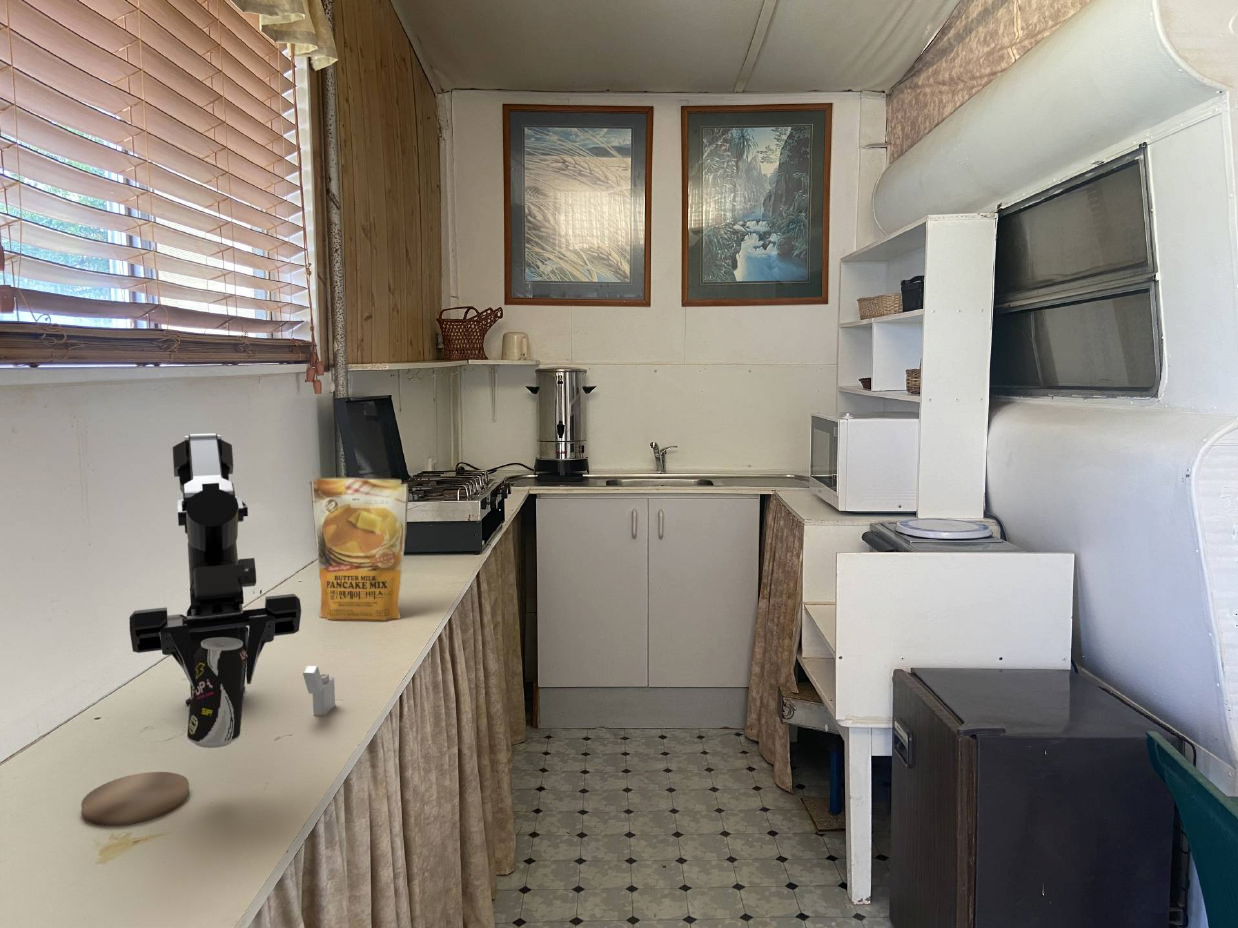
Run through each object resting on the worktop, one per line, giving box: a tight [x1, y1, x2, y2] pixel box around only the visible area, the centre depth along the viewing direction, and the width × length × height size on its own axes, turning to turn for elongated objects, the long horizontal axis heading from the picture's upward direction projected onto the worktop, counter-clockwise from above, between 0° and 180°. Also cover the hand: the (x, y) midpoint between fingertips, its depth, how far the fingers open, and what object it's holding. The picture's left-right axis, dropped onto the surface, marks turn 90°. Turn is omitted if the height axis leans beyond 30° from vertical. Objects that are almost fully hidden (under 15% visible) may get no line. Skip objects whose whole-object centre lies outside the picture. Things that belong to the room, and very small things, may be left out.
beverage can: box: [186, 637, 247, 749], centre depth 106 cm, size 6×6×12 cm
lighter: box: [302, 665, 336, 717], centre depth 131 cm, size 7×2×8 cm, turn 176°
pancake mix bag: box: [309, 477, 410, 622], centre depth 179 cm, size 7×19×28 cm, turn 86°
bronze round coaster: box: [81, 771, 190, 827], centre depth 105 cm, size 11×11×1 cm
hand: (223, 686), depth 105 cm, fingers closed on beverage can, 5 cm apart
